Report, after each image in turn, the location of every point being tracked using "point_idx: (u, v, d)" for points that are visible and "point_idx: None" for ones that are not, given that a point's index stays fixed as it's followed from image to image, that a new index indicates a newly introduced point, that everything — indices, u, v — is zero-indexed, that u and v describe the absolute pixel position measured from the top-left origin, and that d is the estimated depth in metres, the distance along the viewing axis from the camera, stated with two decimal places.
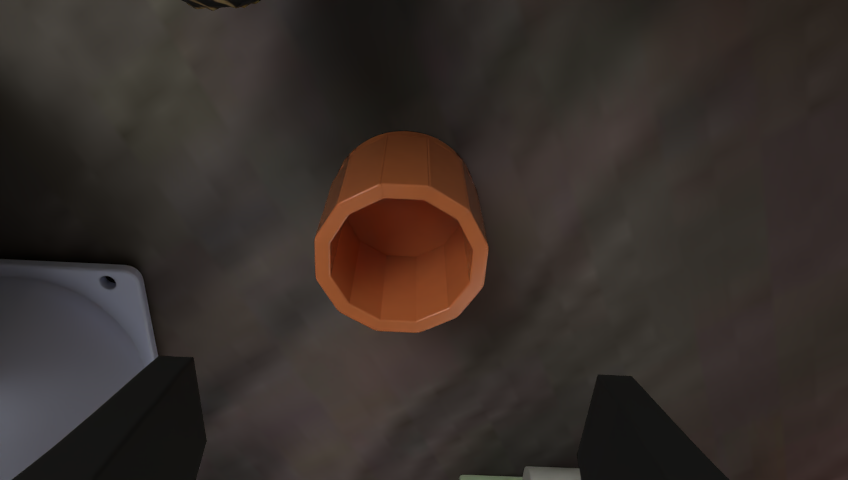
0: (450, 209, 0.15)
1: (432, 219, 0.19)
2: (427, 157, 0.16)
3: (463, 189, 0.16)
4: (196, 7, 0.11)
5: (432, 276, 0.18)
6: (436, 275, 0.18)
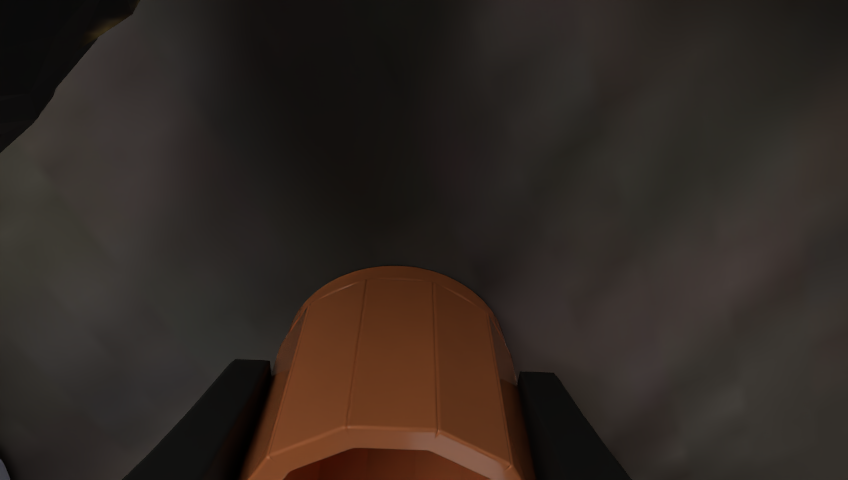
0: (477, 464, 0.08)
1: None
2: (433, 336, 0.09)
3: (497, 401, 0.09)
4: None
5: None
6: None
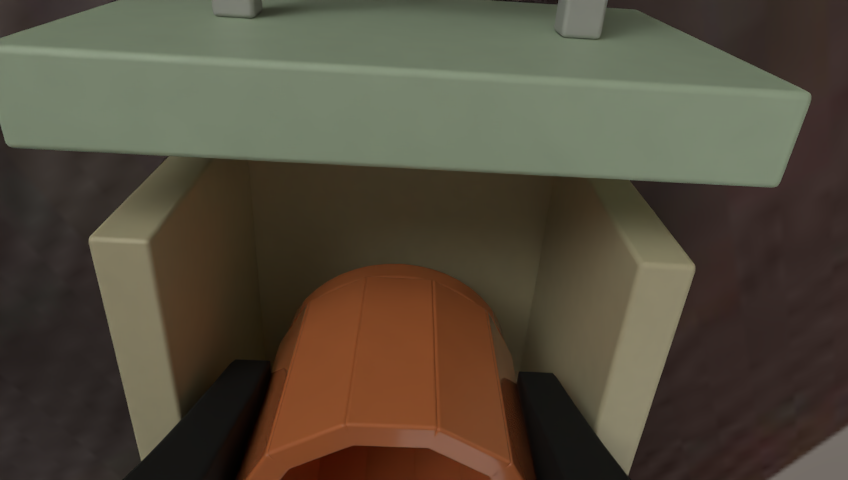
0: (476, 462, 0.08)
1: None
2: (433, 334, 0.09)
3: (497, 399, 0.09)
4: None
5: None
6: None
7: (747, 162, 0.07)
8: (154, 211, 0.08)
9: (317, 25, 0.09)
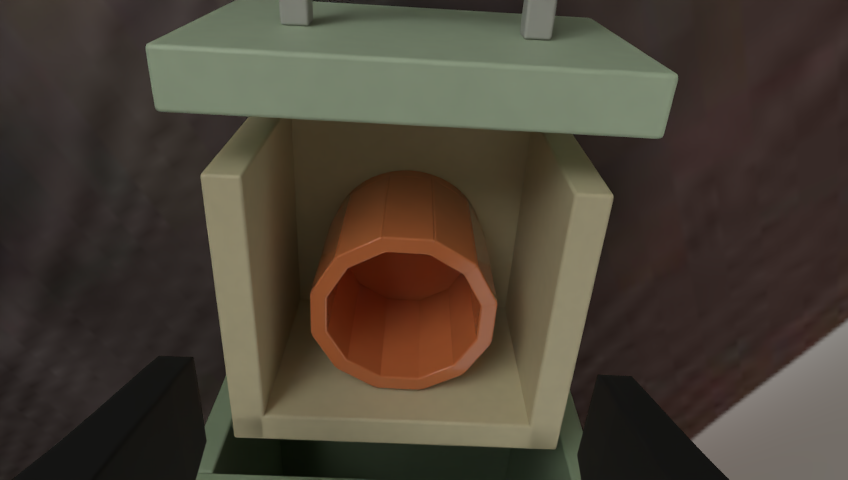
0: (456, 264, 0.14)
1: (436, 262, 0.18)
2: (432, 203, 0.15)
3: (470, 239, 0.15)
4: None
5: (436, 325, 0.17)
6: (440, 324, 0.17)
7: (639, 120, 0.11)
8: (240, 159, 0.12)
9: (352, 31, 0.12)
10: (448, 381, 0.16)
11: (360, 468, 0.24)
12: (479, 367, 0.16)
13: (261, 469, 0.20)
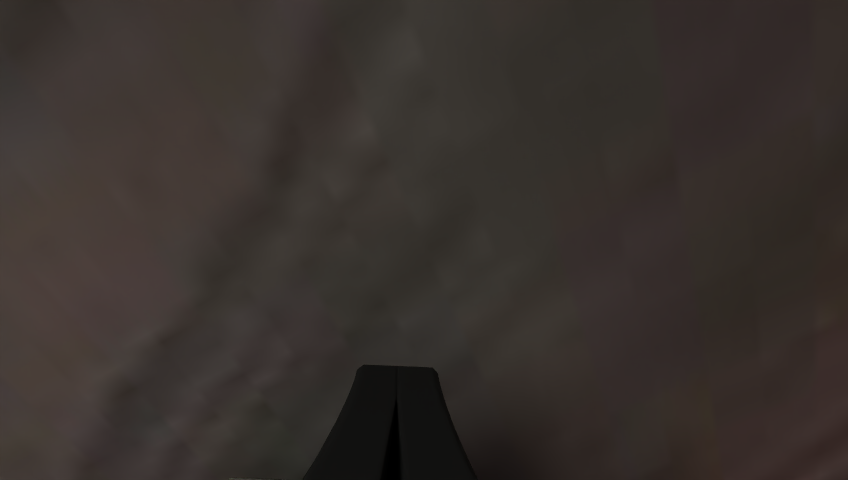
0: None
1: None
2: None
3: None
4: None
5: None
6: None
7: None
8: None
9: None
10: None
11: None
12: None
13: None
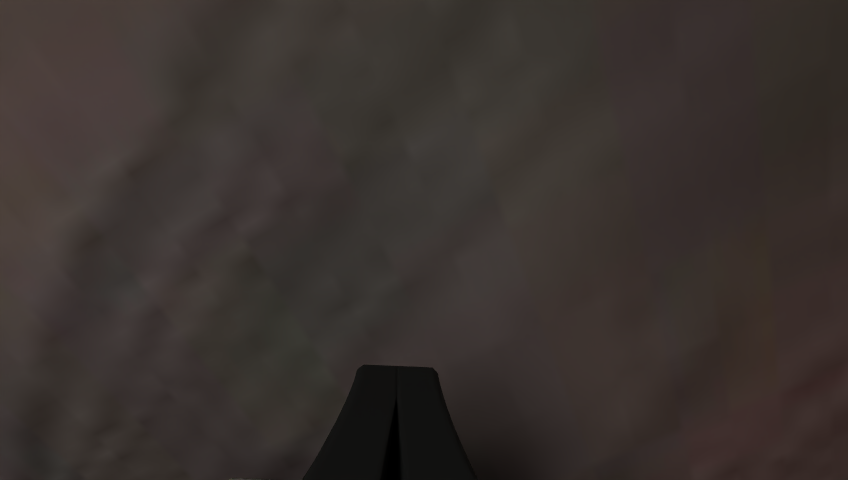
0: None
1: None
2: None
3: None
4: None
5: None
6: None
7: None
8: None
9: None
10: None
11: None
12: None
13: None
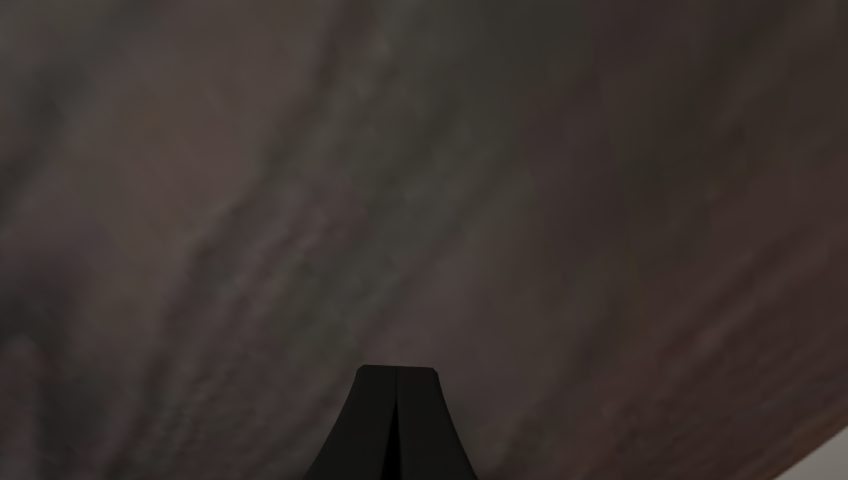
0: None
1: None
2: None
3: None
4: None
5: None
6: None
7: None
8: None
9: None
10: None
11: None
12: None
13: None
